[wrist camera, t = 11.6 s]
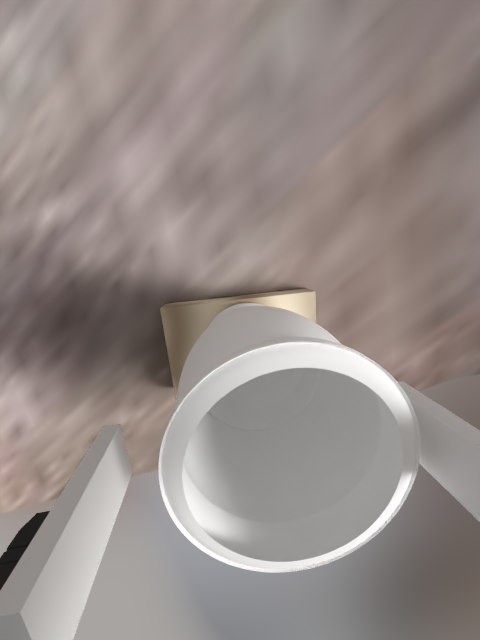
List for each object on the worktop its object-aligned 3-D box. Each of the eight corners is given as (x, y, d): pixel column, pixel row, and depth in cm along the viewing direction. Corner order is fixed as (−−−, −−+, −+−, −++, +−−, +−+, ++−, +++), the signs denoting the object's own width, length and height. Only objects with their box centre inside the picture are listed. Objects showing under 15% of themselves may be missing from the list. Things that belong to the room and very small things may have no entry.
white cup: (168, 330, 24) (93, 447, 9) (266, 267, 23) (354, 283, 9) (232, 416, 26) (254, 616, 12) (321, 361, 26) (461, 496, 11)
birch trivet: (179, 388, 28) (175, 400, 25) (165, 303, 25) (159, 308, 23) (309, 370, 29) (317, 381, 26) (305, 288, 26) (315, 291, 24)
